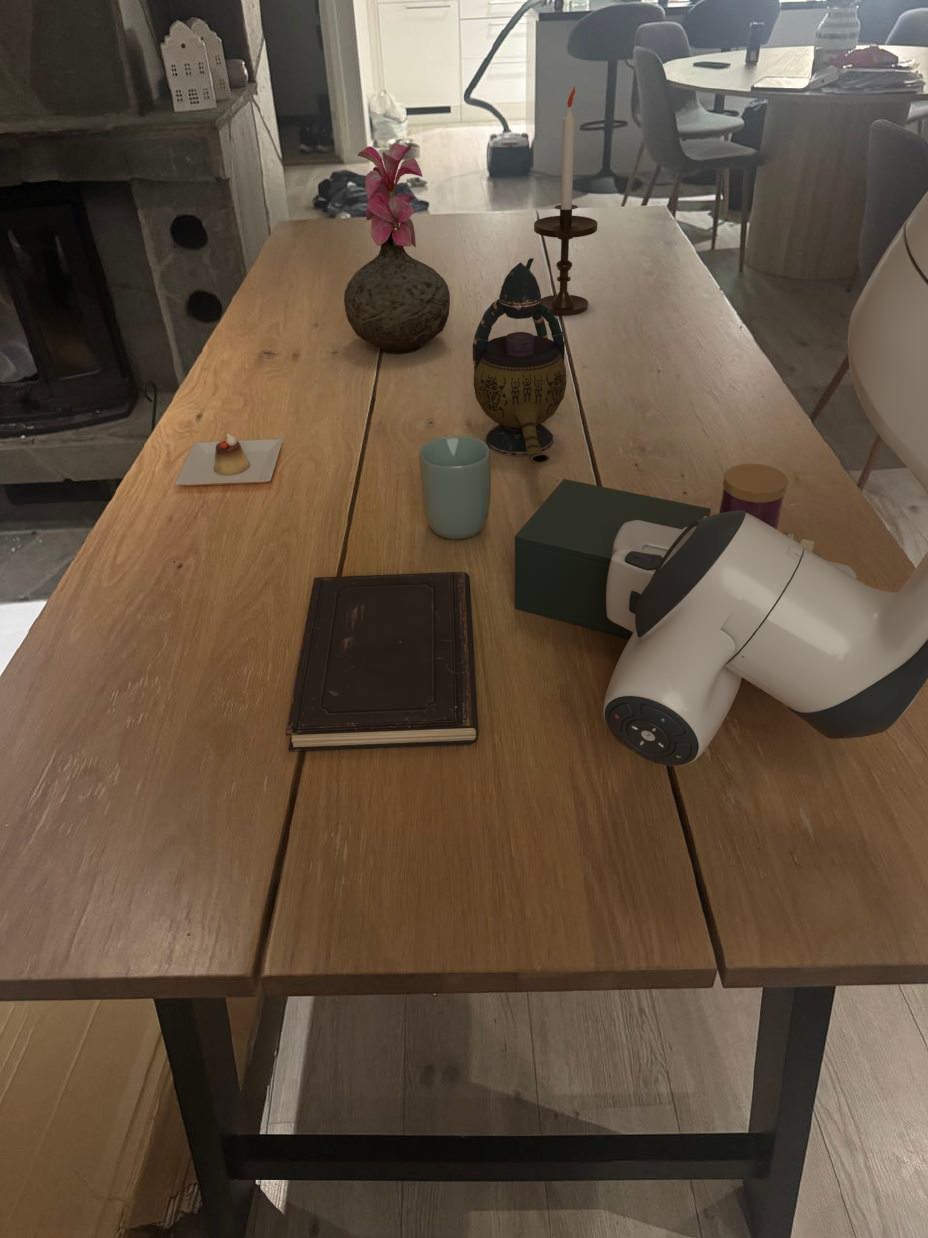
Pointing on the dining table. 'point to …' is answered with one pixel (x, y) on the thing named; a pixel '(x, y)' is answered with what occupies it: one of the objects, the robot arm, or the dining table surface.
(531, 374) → the teapot
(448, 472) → the cup
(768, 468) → the canister
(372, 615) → the hardcover book
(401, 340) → the vase
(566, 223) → the candlestick
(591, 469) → the dining table surface
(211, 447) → the dessert
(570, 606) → the cabinet
